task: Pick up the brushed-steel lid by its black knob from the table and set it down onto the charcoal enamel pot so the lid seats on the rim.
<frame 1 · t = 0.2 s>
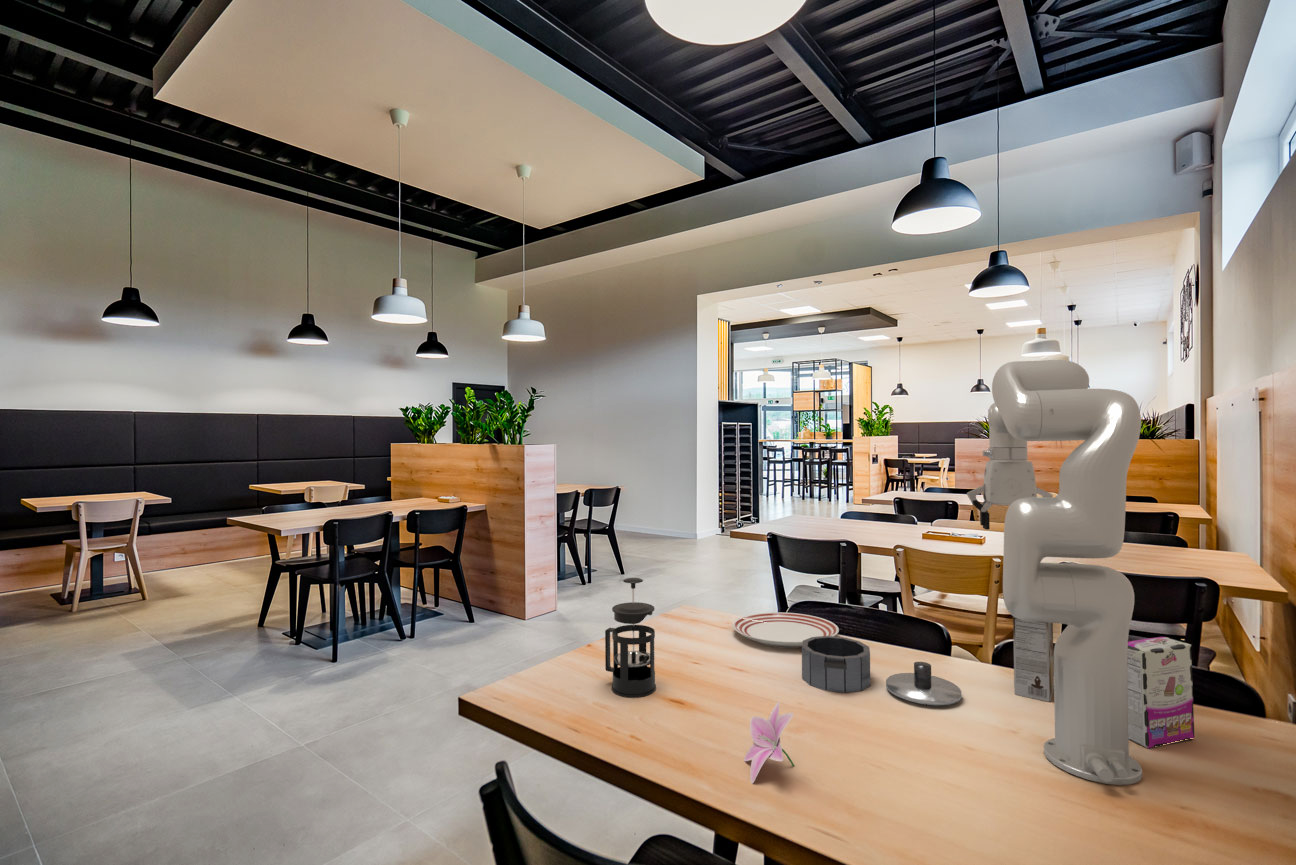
hand: (1009, 529, 139), 31 cm above the table, fingers open, 9 cm apart
candy bar box: (1156, 739, 104), on the table
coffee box: (1034, 692, 123), on the table
pot: (835, 678, 130), on the table
dinner plate: (784, 637, 159), on the table
lily: (768, 770, 95), on the table
french press: (631, 688, 127), on the table
lid: (922, 695, 123), on the table
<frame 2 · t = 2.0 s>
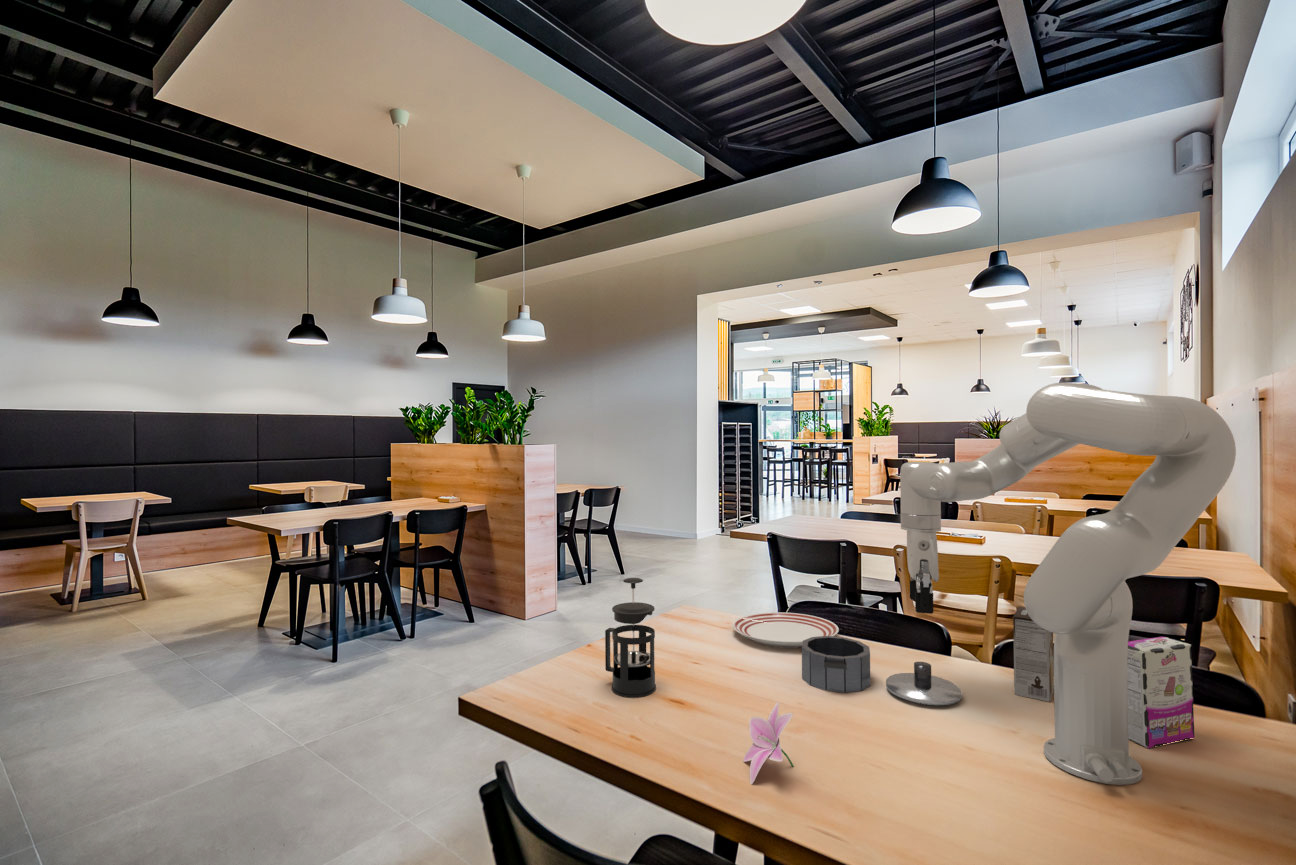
hand: (921, 606, 123), 18 cm above the table, fingers open, 9 cm apart
nothing on the table moved.
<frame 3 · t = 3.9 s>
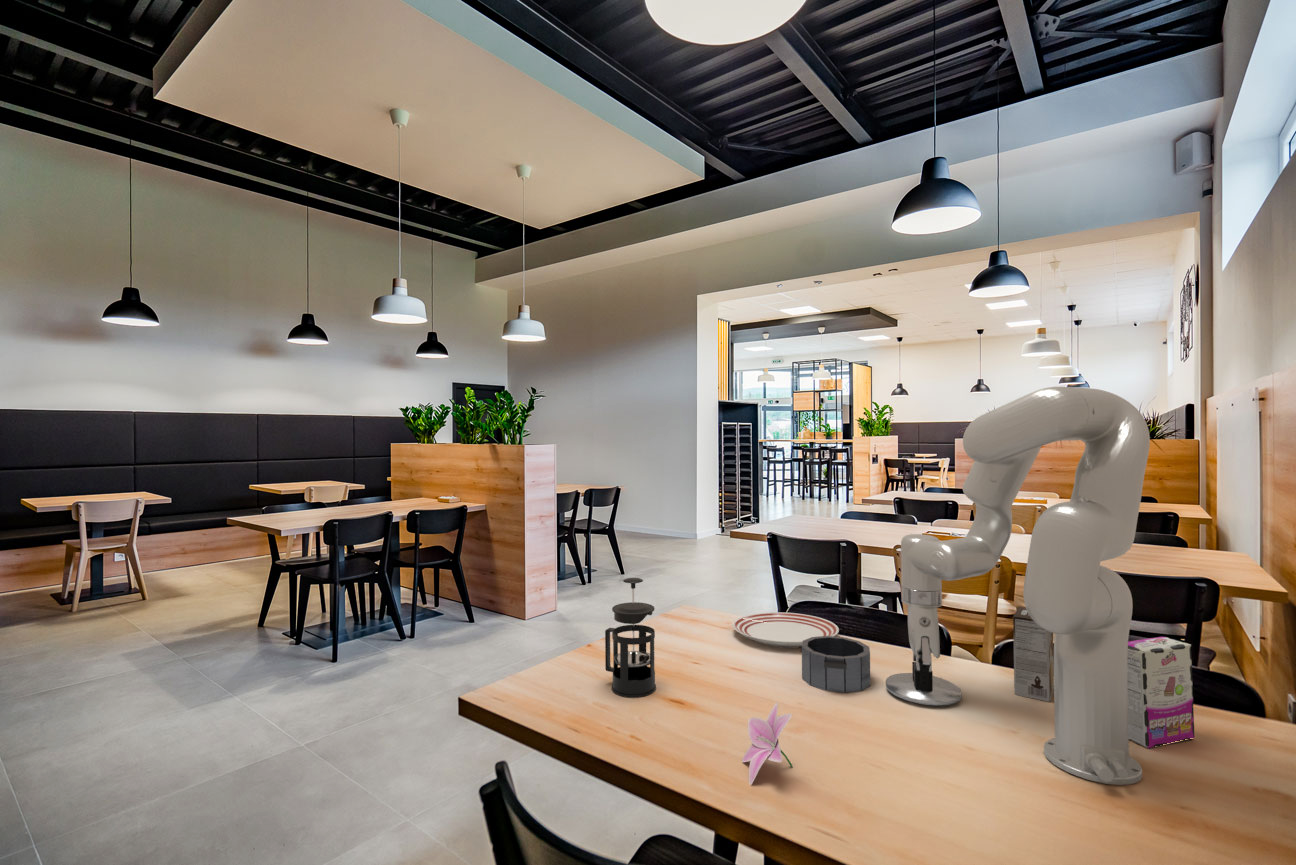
hand: (922, 685, 123), 2 cm above the table, fingers closed on lid, 3 cm apart
lid: (922, 695, 123), on the table, touching gripper
everything else where it was.
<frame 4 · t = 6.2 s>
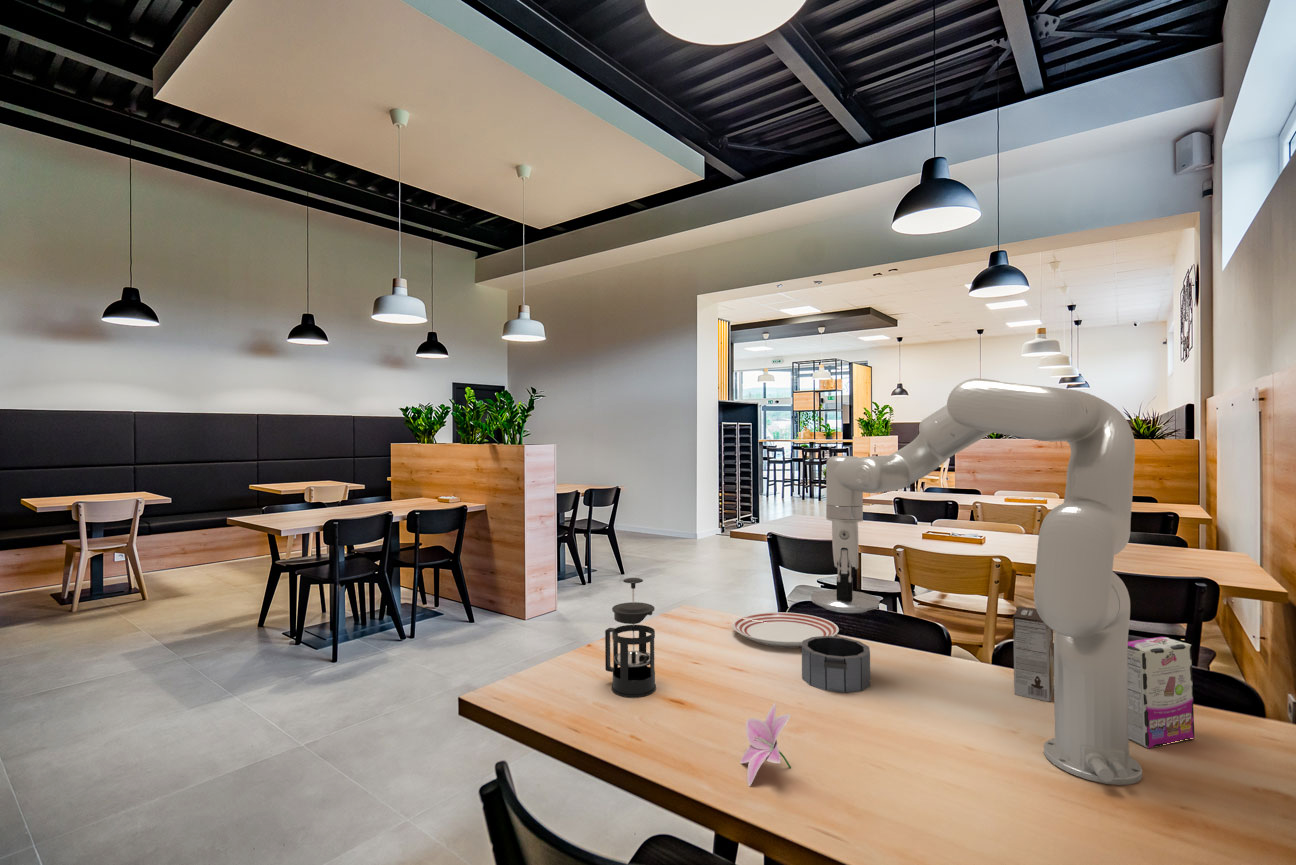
hand: (844, 597, 130), 18 cm above the table, fingers closed on lid, 3 cm apart
lid: (844, 606, 130), point 16 cm above the table, touching gripper
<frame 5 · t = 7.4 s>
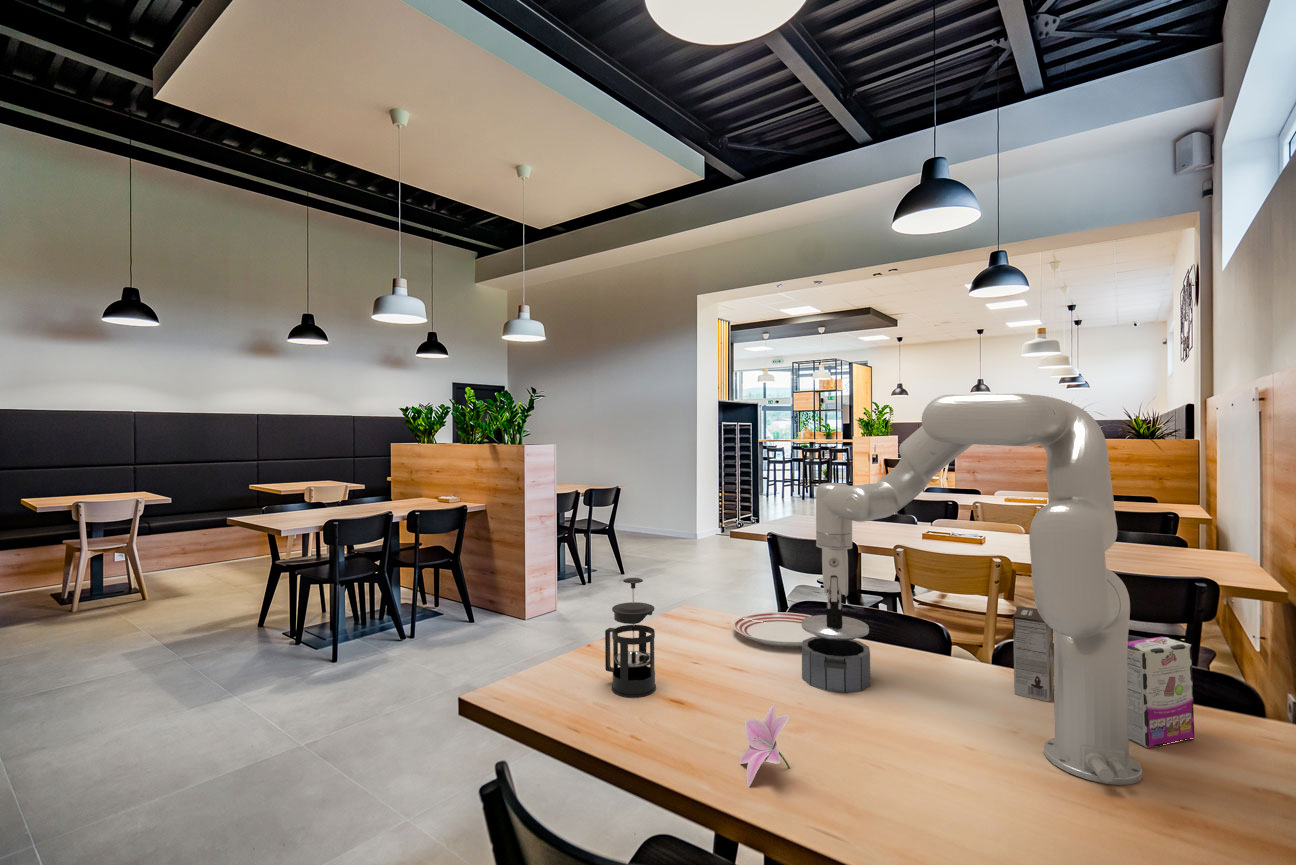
hand: (834, 623, 131), 12 cm above the table, fingers closed on lid, 3 cm apart
lid: (834, 632, 131), point 10 cm above the table, touching gripper
when the fingers open (8 cm above the table, at t = 8.3 s): lid stays where it is, resting on pot.
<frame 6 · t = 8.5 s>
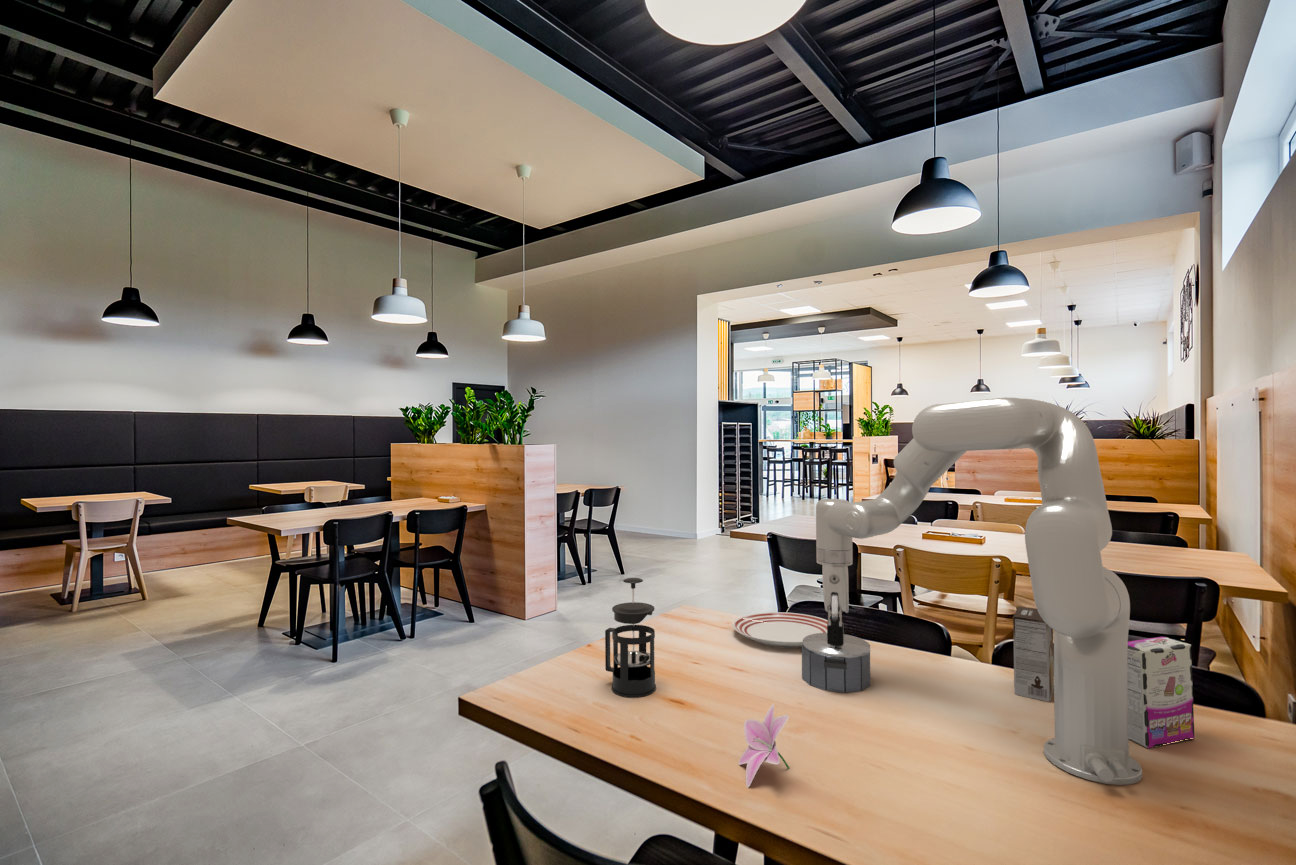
hand: (835, 639, 131), 9 cm above the table, fingers open, 5 cm apart
lid: (836, 651, 130), point 6 cm above the table, touching pot
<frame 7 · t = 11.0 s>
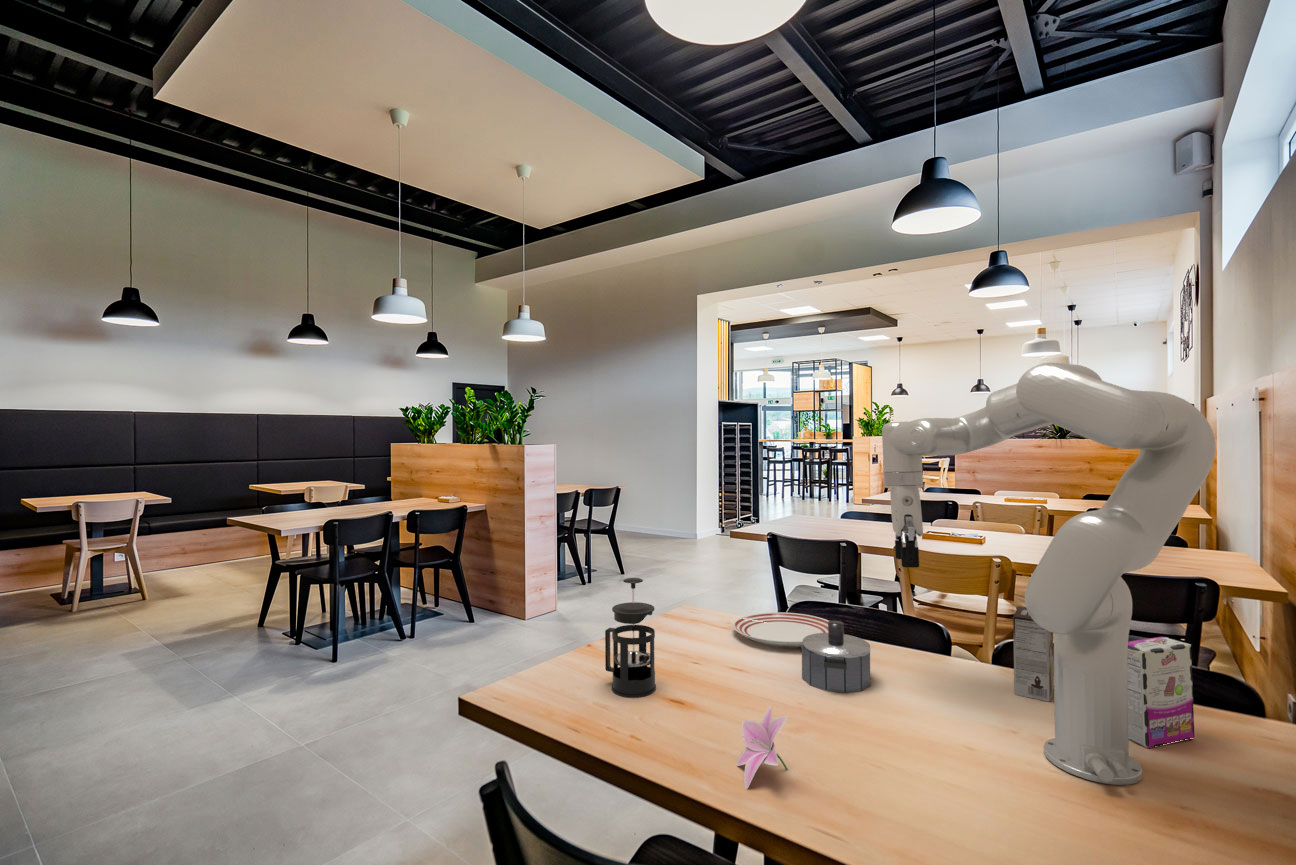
hand: (907, 562, 125), 26 cm above the table, fingers open, 9 cm apart
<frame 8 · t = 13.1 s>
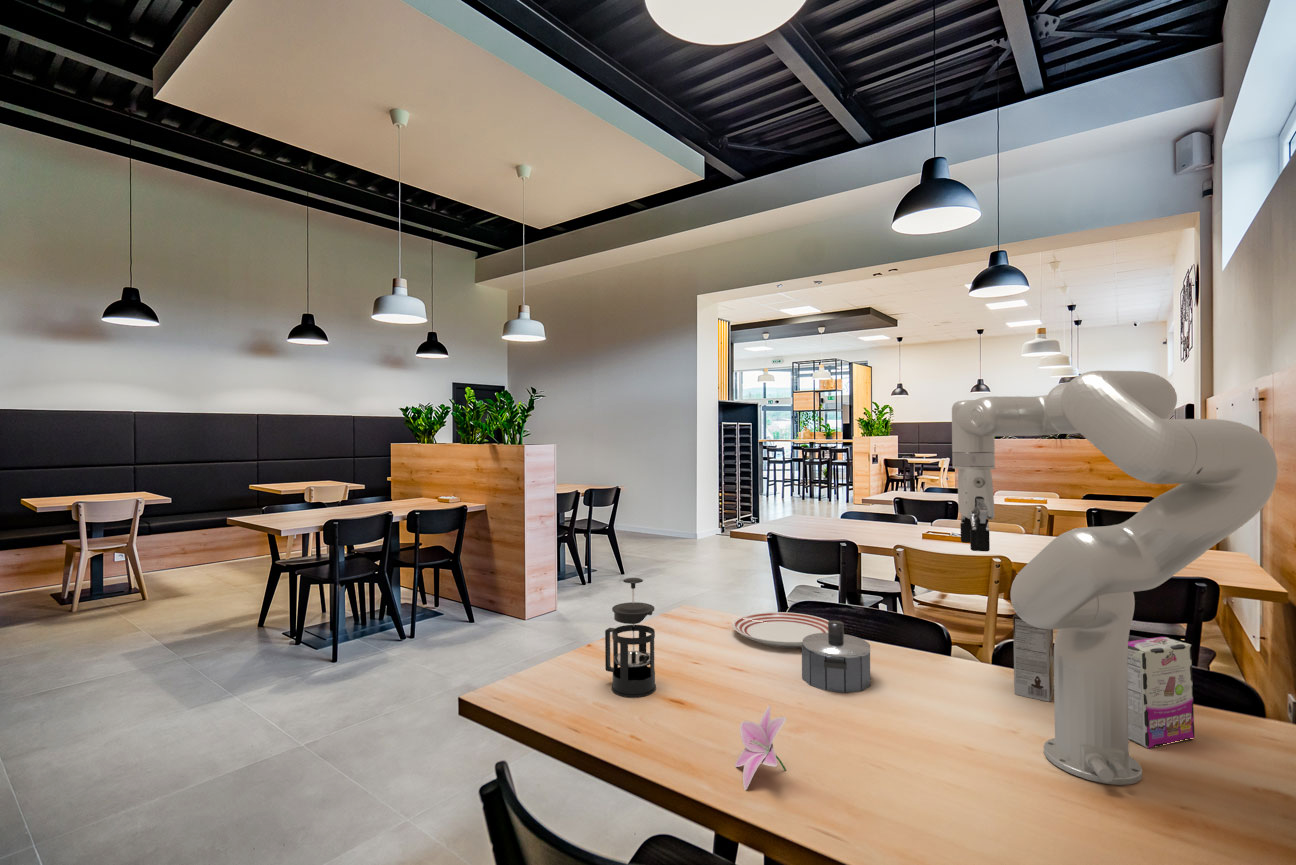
hand: (974, 546, 121), 30 cm above the table, fingers open, 9 cm apart
at the end: lid 0.1 cm off-centre on the pot, point 6.0 cm above the pot's base; lid tilted 0°; the gripper is holding nothing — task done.
